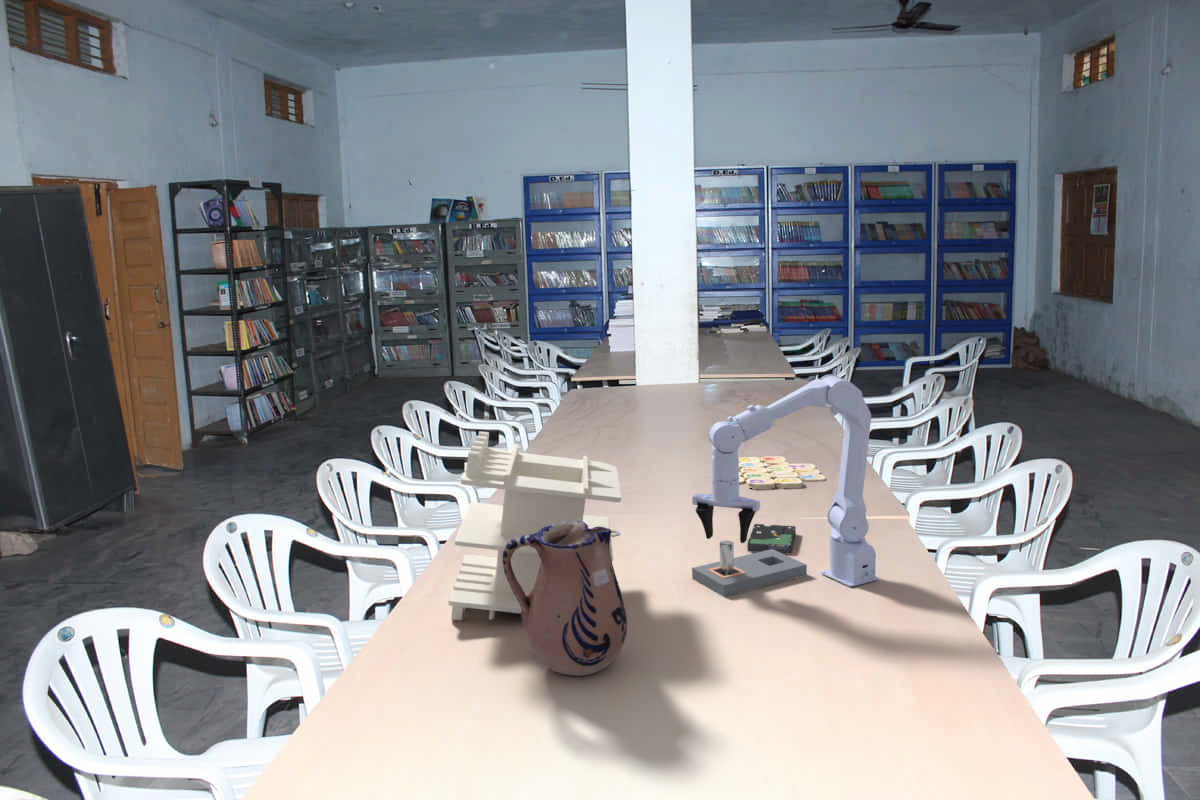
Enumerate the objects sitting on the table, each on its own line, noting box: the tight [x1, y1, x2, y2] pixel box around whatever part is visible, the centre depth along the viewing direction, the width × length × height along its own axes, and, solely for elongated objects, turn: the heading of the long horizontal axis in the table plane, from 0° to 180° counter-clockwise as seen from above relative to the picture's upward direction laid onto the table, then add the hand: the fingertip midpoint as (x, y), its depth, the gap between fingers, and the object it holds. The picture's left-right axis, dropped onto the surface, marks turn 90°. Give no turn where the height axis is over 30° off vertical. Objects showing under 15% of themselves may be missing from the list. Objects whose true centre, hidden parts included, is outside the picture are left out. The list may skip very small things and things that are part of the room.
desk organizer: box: [448, 431, 622, 622], centre depth 189 cm, size 26×31×35 cm
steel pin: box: [719, 540, 735, 576], centre depth 196 cm, size 3×3×9 cm
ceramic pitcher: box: [502, 520, 628, 677], centre depth 159 cm, size 18×21×25 cm
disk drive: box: [746, 523, 797, 555], centre depth 221 cm, size 10×3×15 cm
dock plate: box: [691, 549, 808, 598], centre depth 199 cm, size 12×22×3 cm, turn 117°
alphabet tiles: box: [738, 455, 826, 490], centre depth 282 cm, size 33×33×2 cm
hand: (726, 539), depth 195 cm, fingers open, 7 cm apart
